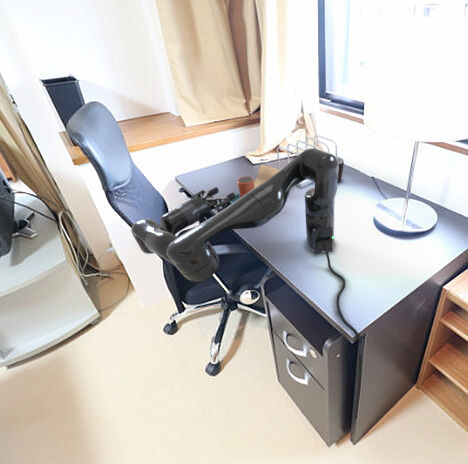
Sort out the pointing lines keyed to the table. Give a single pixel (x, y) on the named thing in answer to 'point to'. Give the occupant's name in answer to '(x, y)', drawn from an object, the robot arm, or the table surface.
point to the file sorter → (304, 150)
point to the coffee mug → (340, 168)
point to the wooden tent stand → (265, 174)
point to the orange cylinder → (245, 185)
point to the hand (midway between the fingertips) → (225, 192)
